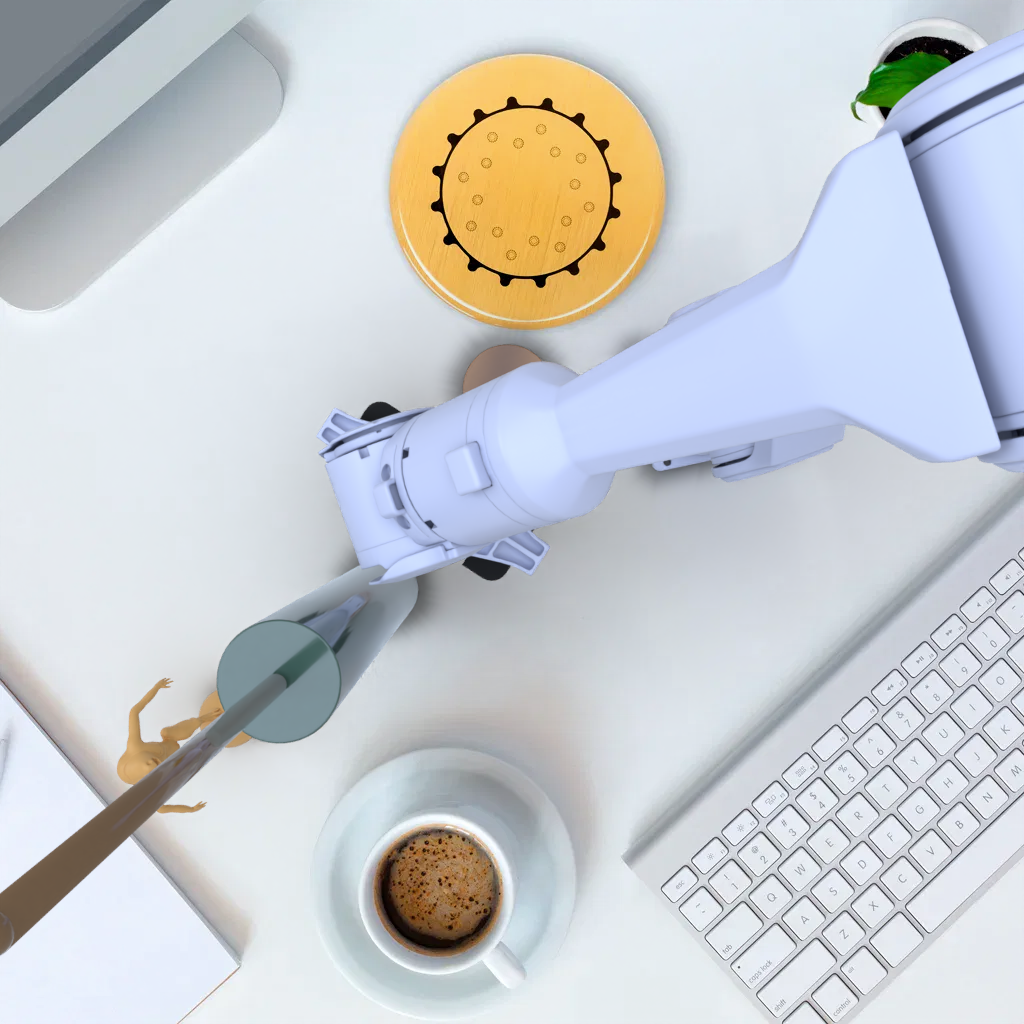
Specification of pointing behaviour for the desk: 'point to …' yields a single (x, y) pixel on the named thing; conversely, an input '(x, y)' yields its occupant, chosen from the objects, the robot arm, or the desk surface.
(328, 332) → the desk surface
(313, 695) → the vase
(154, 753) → the figurine
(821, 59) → the desk surface
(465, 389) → the coaster
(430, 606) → the desk surface
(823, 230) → the robot arm
